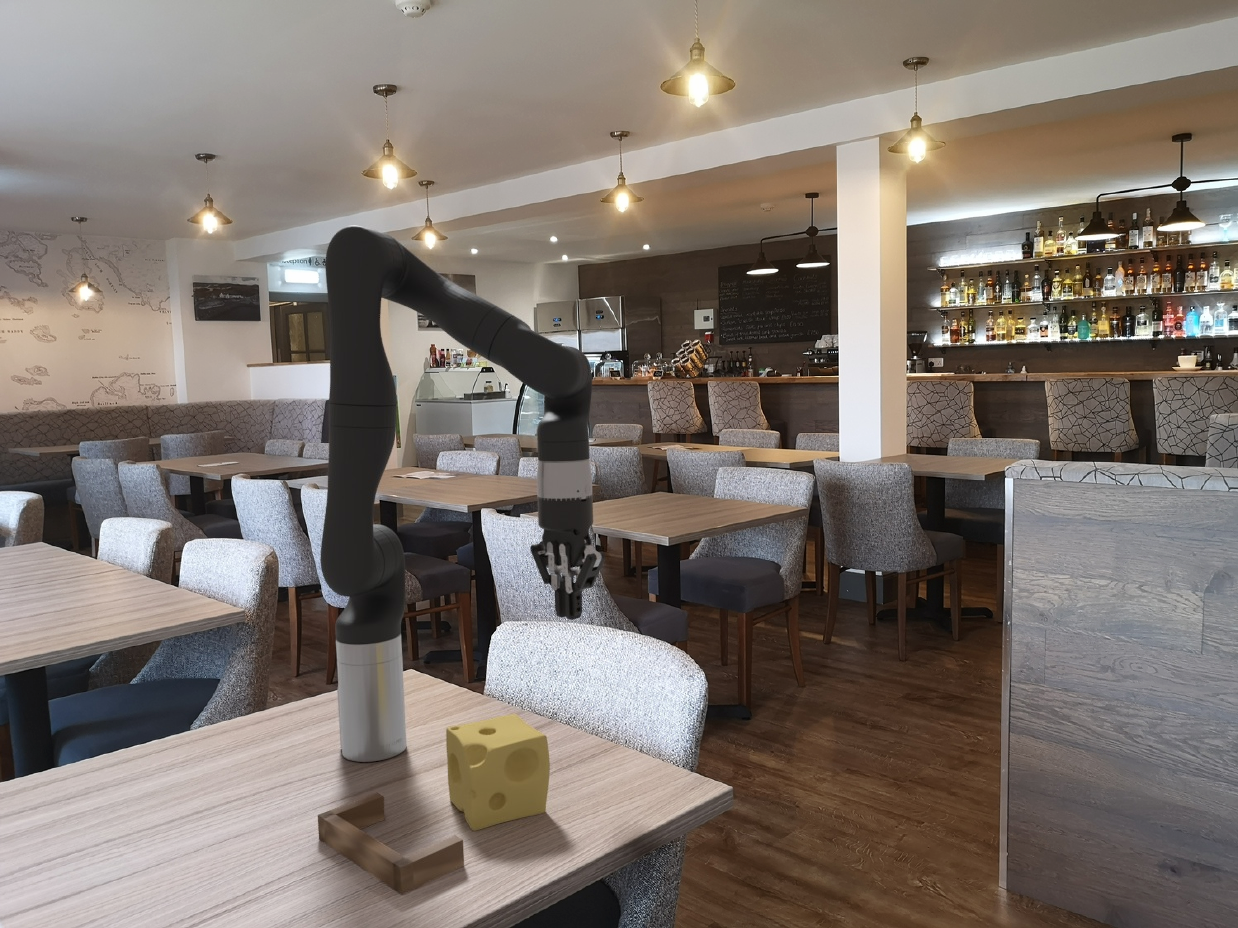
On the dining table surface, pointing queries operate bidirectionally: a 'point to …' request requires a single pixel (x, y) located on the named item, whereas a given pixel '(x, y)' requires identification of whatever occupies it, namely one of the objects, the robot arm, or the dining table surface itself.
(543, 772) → the cheese
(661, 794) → the dining table surface
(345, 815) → the walnut cradle
